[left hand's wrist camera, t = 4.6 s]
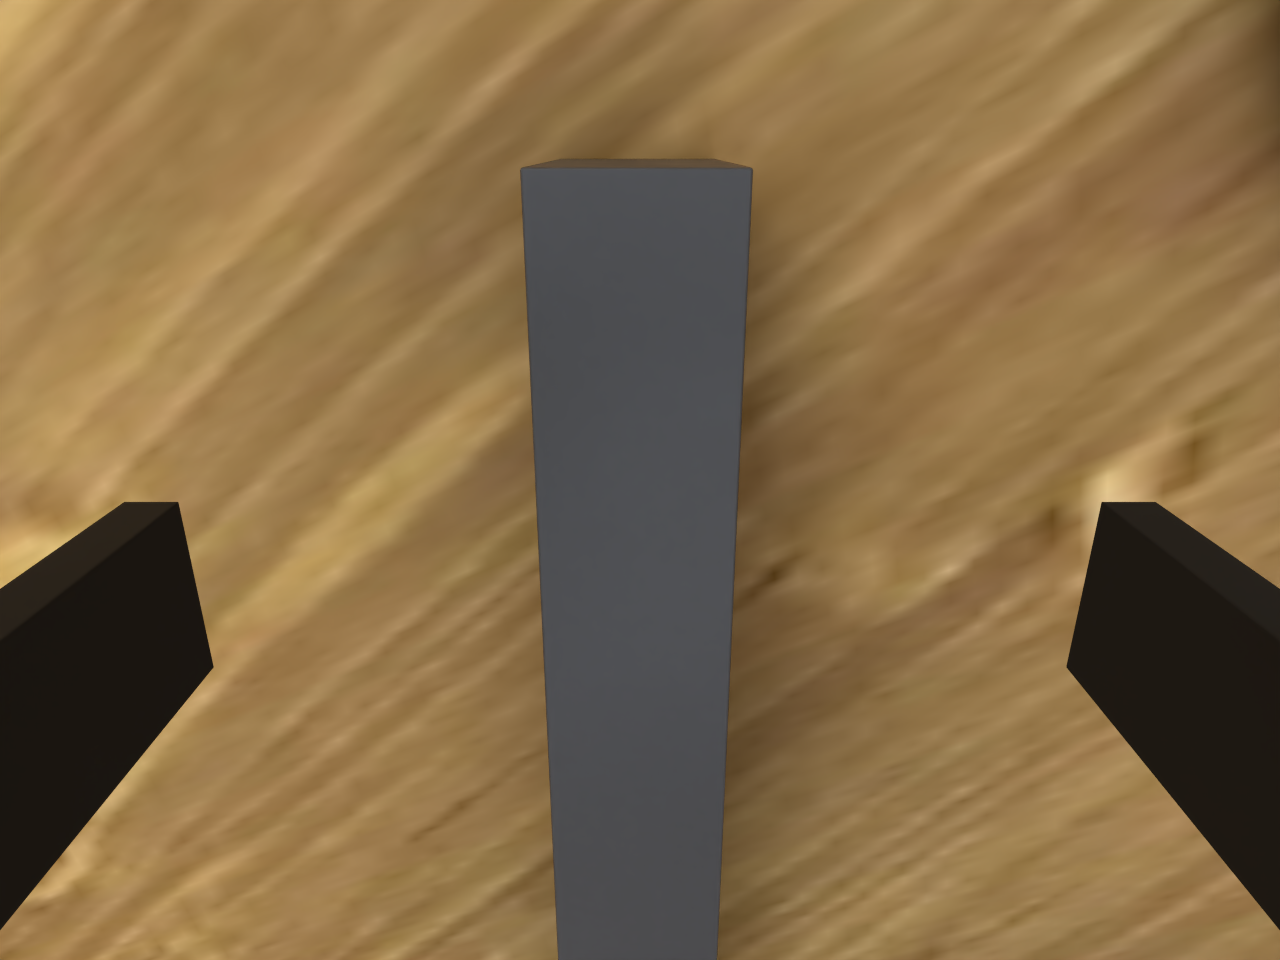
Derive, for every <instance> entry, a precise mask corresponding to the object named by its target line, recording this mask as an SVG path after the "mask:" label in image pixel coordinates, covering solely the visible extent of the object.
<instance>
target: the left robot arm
mask: <svg viewBox="0 0 1280 960" xmlns="http://www.w3.org/2000/svg"><path fill="white" fill-rule="evenodd" d="M212 668H213V662H212V657H211V653H210V648H209V643H208V639H207V634H206V629H205V625H204V620H203V615H202V611H201V606H200V601H199V597H198V592H197V587H196V583H195V578H194V573H193V569H192V564H191V559H190V555H189V550H188V545H187V541H186V536H185V531H184V527H183V522H182V517H181V513H180V508H179V503H178V502H124V503H122V504H121V505H120V506H118V507H117V508H115V509H114V510H112V511H111V512H109V513H108V514H107V515H105V516H104V517H102V518H101V519H99V520H98V521H97V522H95V523H94V524H92V525H91V526H89V527H88V528H87V529H85V530H84V531H82V532H81V533H79V534H78V535H77V536H75V537H74V538H72V539H71V540H69V541H68V542H67V543H65V544H64V545H62V546H61V547H59V548H58V549H57V550H55V551H54V552H52V553H51V554H49V555H48V556H47V557H45V558H44V559H42V560H41V561H39V562H38V563H37V564H35V565H34V566H32V567H31V568H29V569H28V570H27V571H25V572H24V573H22V574H21V575H19V576H18V577H17V578H15V579H14V580H12V581H11V582H9V583H8V584H7V585H5V586H4V587H2V588H1V589H0V930H1V928H2V927H3V926H4V925H5V924H6V922H7V921H8V920H9V919H10V917H11V916H12V915H13V914H14V912H15V911H16V910H17V909H18V908H19V906H20V905H21V904H22V903H23V901H24V900H25V899H26V898H27V896H28V895H29V894H30V893H31V892H32V890H33V889H34V888H35V887H36V885H37V884H38V883H39V882H40V880H41V879H42V878H43V877H44V875H45V874H46V873H47V872H48V871H49V869H50V868H51V867H52V866H53V864H54V863H55V862H56V861H57V859H58V858H59V857H60V856H61V855H62V853H63V852H64V851H65V850H66V848H67V847H68V846H69V845H70V843H71V842H72V841H73V840H74V839H75V837H76V836H77V835H78V834H79V832H80V831H81V830H82V829H83V827H84V826H85V825H86V824H87V822H88V821H89V820H90V819H91V818H92V816H93V815H94V814H95V813H96V811H97V810H98V809H99V808H100V806H101V805H102V804H103V803H104V802H105V800H106V799H107V798H108V797H109V795H110V794H111V793H112V792H113V790H114V789H115V788H116V787H117V786H118V784H119V783H120V782H121V781H122V779H123V778H124V777H125V776H126V774H127V773H128V772H129V771H130V769H131V768H132V767H133V766H134V765H135V763H136V762H137V761H138V760H139V758H140V757H141V756H142V755H143V753H144V752H145V751H146V750H147V749H148V747H149V746H150V745H151V744H152V742H153V741H154V740H155V739H156V737H157V736H158V735H159V734H160V733H161V731H162V730H163V729H164V728H165V726H166V725H167V724H168V723H169V721H170V720H171V719H172V718H173V716H174V715H175V714H176V713H177V712H178V710H179V709H180V708H181V707H182V705H183V704H184V703H185V702H186V700H187V699H188V698H189V697H190V696H191V694H192V693H193V692H194V691H195V689H196V688H197V687H198V686H199V684H200V683H201V682H202V681H203V679H204V678H205V677H206V676H207V675H208V673H209V672H210V671H211V670H212ZM1067 668H1068V670H1069V671H1070V672H1071V673H1072V675H1073V676H1074V677H1075V678H1076V679H1077V681H1078V682H1079V683H1080V684H1081V686H1082V687H1083V688H1084V689H1085V691H1086V692H1087V693H1088V694H1089V696H1090V697H1091V698H1092V699H1093V700H1094V702H1095V703H1096V704H1097V705H1098V707H1099V708H1100V709H1101V710H1102V712H1103V713H1104V714H1105V715H1106V716H1107V718H1108V719H1109V720H1110V721H1111V723H1112V724H1113V725H1114V726H1115V728H1116V729H1117V730H1118V731H1119V733H1120V734H1121V735H1122V736H1123V737H1124V739H1125V740H1126V741H1127V742H1128V744H1129V745H1130V746H1131V747H1132V749H1133V750H1134V751H1135V752H1136V753H1137V755H1138V756H1139V757H1140V758H1141V760H1142V761H1143V762H1144V763H1145V765H1146V766H1147V767H1148V768H1149V769H1150V771H1151V772H1152V773H1153V774H1154V776H1155V777H1156V778H1157V779H1158V781H1159V782H1160V783H1161V784H1162V786H1163V787H1164V788H1165V789H1166V790H1167V792H1168V793H1169V794H1170V795H1171V797H1172V798H1173V799H1174V800H1175V802H1176V803H1177V804H1178V805H1179V806H1180V808H1181V809H1182V810H1183V811H1184V813H1185V814H1186V815H1187V816H1188V818H1189V819H1190V820H1191V821H1192V822H1193V824H1194V825H1195V826H1196V827H1197V829H1198V830H1199V831H1200V832H1201V834H1202V835H1203V836H1204V837H1205V839H1206V840H1207V841H1208V842H1209V843H1210V845H1211V846H1212V847H1213V848H1214V850H1215V851H1216V852H1217V853H1218V855H1219V856H1220V857H1221V858H1222V859H1223V861H1224V862H1225V863H1226V864H1227V866H1228V867H1229V868H1230V869H1231V871H1232V872H1233V873H1234V874H1235V875H1236V877H1237V878H1238V879H1239V880H1240V882H1241V883H1242V884H1243V885H1244V887H1245V888H1246V889H1247V890H1248V892H1249V893H1250V894H1251V895H1252V896H1253V898H1254V899H1255V900H1256V901H1257V903H1258V904H1259V905H1260V906H1261V908H1262V909H1263V910H1264V911H1265V912H1266V914H1267V915H1268V916H1269V917H1270V919H1271V920H1272V921H1273V922H1274V924H1275V925H1276V926H1277V927H1278V928H1279V930H1280V589H1279V588H1278V587H1276V586H1275V585H1273V584H1272V583H1271V582H1269V581H1268V580H1266V579H1265V578H1263V577H1262V576H1261V575H1259V574H1258V573H1256V572H1255V571H1253V570H1252V569H1251V568H1249V567H1248V566H1246V565H1245V564H1243V563H1242V562H1241V561H1239V560H1238V559H1236V558H1235V557H1233V556H1232V555H1231V554H1229V553H1228V552H1226V551H1225V550H1223V549H1222V548H1221V547H1219V546H1218V545H1216V544H1215V543H1213V542H1212V541H1211V540H1209V539H1208V538H1206V537H1205V536H1203V535H1202V534H1201V533H1199V532H1198V531H1196V530H1195V529H1193V528H1192V527H1191V526H1189V525H1188V524H1186V523H1185V522H1183V521H1182V520H1181V519H1179V518H1178V517H1176V516H1175V515H1173V514H1172V513H1171V512H1169V511H1168V510H1166V509H1165V508H1163V507H1162V506H1160V505H1159V504H1158V503H1156V502H1102V503H1101V508H1100V513H1099V517H1098V522H1097V527H1096V531H1095V536H1094V541H1093V545H1092V550H1091V555H1090V559H1089V564H1088V569H1087V573H1086V578H1085V583H1084V587H1083V592H1082V597H1081V601H1080V606H1079V611H1078V615H1077V620H1076V625H1075V629H1074V634H1073V639H1072V643H1071V648H1070V653H1069V657H1068V662H1067Z"/></svg>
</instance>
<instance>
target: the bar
mask: <svg viewBox="0 0 1280 960" xmlns="http://www.w3.org/2000/svg"><path fill="white" fill-rule="evenodd" d="M520 173H521V194H522V215H523V236H524V257H525V277H526V298H527V319H528V340H529V361H530V382H531V403H532V423H533V444H534V465H535V486H536V507H537V528H538V548H539V569H540V590H541V611H542V632H543V653H544V673H545V694H546V715H547V736H548V757H549V778H550V799H551V819H552V840H553V861H554V882H555V903H556V924H557V944H558V960H717V948H718V926H719V904H720V882H721V860H722V838H723V816H724V794H725V772H726V750H727V728H728V706H729V684H730V662H731V640H732V618H733V596H734V574H735V552H736V530H737V508H738V486H739V464H740V442H741V420H742V398H743V376H744V354H745V332H746V310H747V288H748V266H749V244H750V222H751V200H752V178H753V169H752V168H750V167H746V166H742V165H738V164H733V163H729V162H725V161H721V160H716V159H559V160H554V161H550V162H545V163H541V164H536V165H532V166H527V167H523V168H521V170H520Z"/></svg>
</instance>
